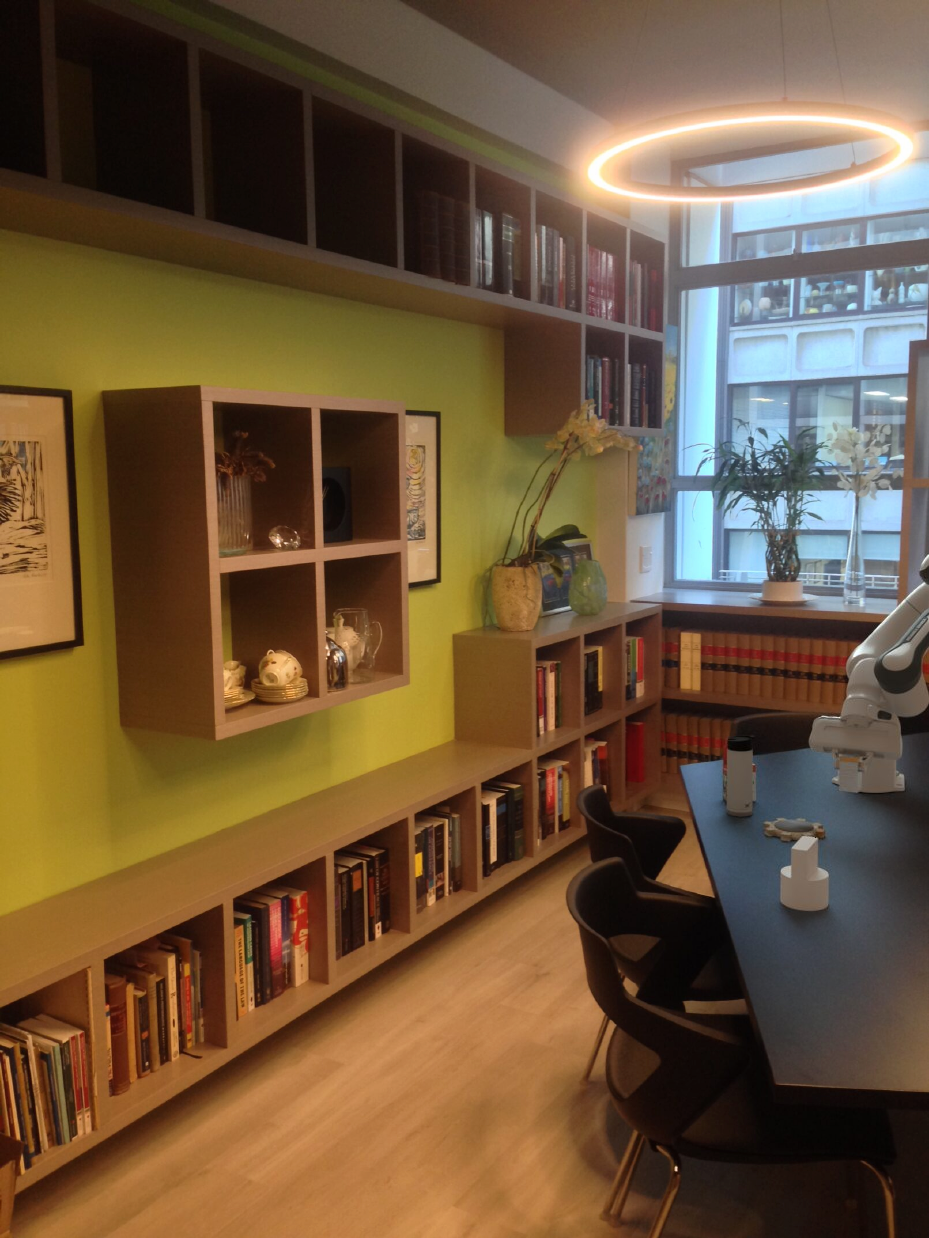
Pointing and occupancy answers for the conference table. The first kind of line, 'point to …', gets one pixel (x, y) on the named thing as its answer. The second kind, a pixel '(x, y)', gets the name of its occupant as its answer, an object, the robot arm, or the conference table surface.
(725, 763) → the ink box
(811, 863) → the base with upright slab
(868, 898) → the conference table surface
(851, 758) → the link block
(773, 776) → the conference table surface
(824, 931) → the conference table surface
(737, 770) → the travel mug
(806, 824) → the toothed wheel
